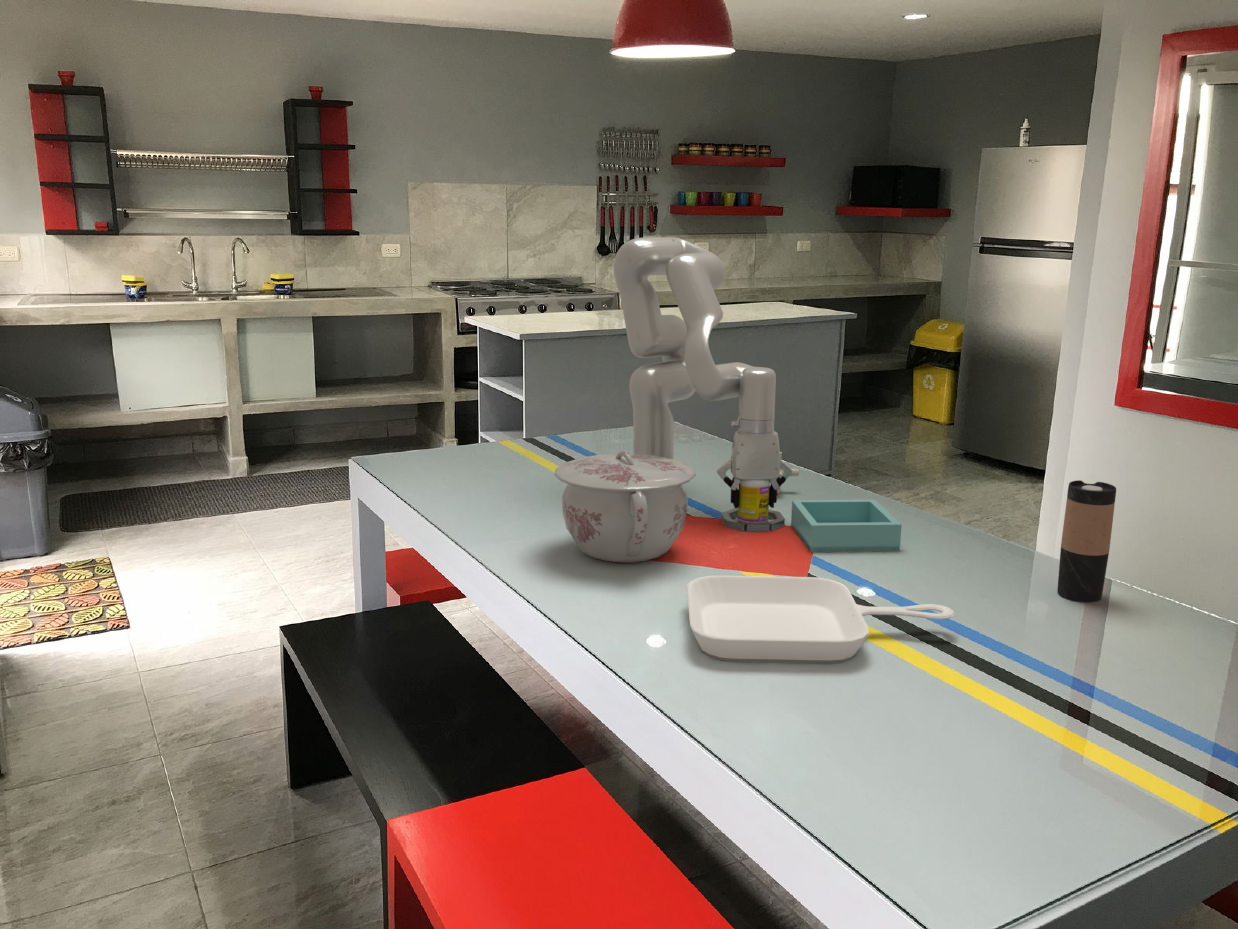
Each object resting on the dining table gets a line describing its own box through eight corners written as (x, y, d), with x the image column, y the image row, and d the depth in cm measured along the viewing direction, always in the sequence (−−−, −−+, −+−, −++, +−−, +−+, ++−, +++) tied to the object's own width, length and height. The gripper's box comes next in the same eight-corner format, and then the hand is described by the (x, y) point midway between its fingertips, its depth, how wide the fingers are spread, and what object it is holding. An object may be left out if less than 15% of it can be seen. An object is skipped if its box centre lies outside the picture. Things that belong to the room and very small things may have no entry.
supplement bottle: (760, 529, 213) (762, 470, 210) (732, 524, 216) (733, 466, 213) (772, 521, 218) (775, 464, 215) (745, 516, 222) (747, 460, 219)
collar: (727, 532, 211) (727, 525, 210) (718, 514, 223) (718, 507, 223) (788, 531, 211) (788, 524, 211) (776, 513, 224) (776, 507, 224)
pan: (685, 599, 174) (685, 574, 173) (929, 603, 172) (931, 578, 171) (690, 667, 148) (691, 638, 147) (978, 673, 146) (981, 643, 145)
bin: (810, 551, 198) (811, 525, 197) (791, 524, 216) (792, 500, 214) (899, 550, 199) (901, 524, 198) (873, 524, 216) (874, 499, 215)
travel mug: (1083, 606, 171) (1096, 493, 166) (1046, 591, 177) (1058, 483, 173) (1112, 598, 174) (1127, 488, 169) (1075, 584, 181) (1088, 478, 176)
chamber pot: (600, 524, 216) (600, 430, 211) (716, 544, 203) (719, 445, 198) (526, 561, 192) (523, 456, 187) (651, 587, 179) (653, 475, 174)
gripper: (717, 429, 208) (715, 511, 212) (800, 429, 209) (796, 510, 213) (713, 422, 215) (711, 501, 220) (792, 422, 216) (789, 501, 220)
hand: (753, 505), depth 216 cm, fingers open, 7 cm apart
